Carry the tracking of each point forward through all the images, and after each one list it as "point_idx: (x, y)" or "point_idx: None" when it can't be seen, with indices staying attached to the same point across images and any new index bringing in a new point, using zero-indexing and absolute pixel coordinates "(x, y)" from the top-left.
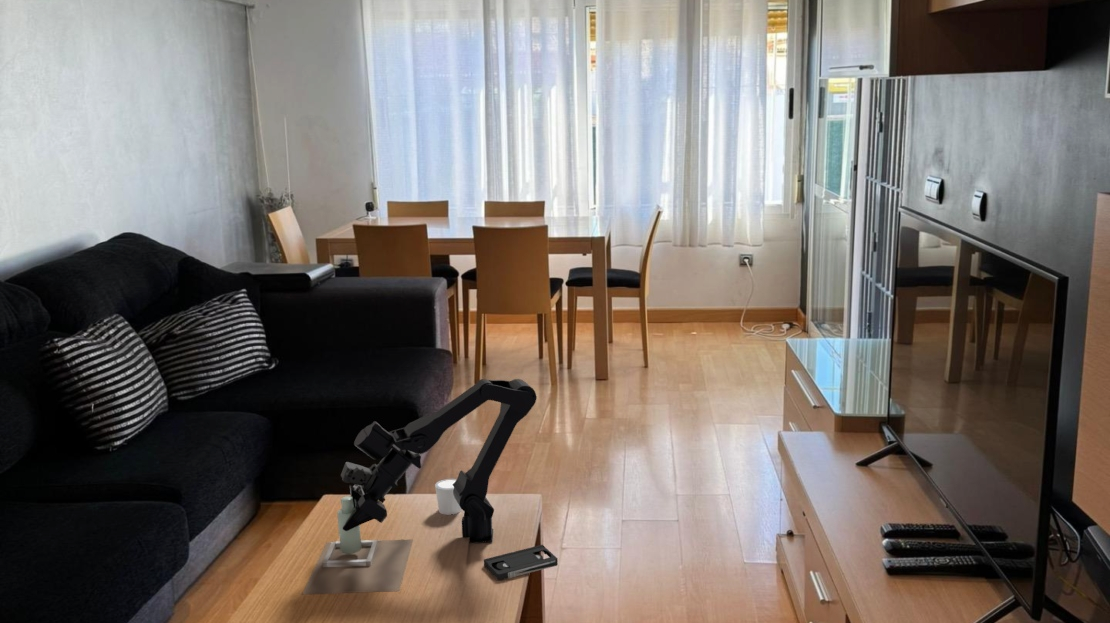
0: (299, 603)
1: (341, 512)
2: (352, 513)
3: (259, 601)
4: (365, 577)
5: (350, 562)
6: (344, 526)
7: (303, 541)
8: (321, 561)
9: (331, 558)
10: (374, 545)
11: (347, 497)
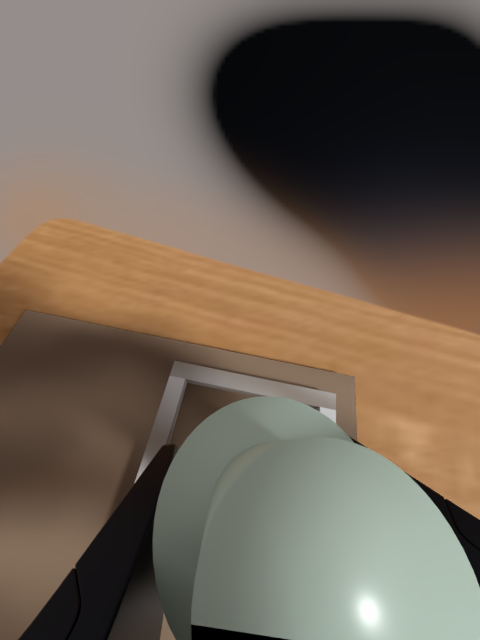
0: (15, 309)
1: (264, 438)
2: (75, 625)
3: (86, 234)
4: (4, 542)
5: (140, 470)
6: (151, 460)
7: (383, 318)
8: (220, 362)
9: (231, 394)
10: None
11: (424, 622)
